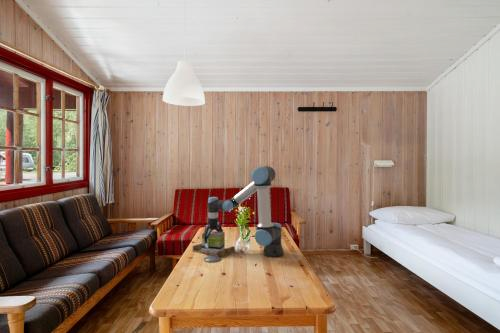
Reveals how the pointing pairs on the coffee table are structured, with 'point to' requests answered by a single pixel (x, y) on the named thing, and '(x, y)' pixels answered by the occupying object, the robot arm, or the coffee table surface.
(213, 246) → the tea box
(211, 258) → the trivet
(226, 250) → the caddy
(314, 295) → the coffee table surface
